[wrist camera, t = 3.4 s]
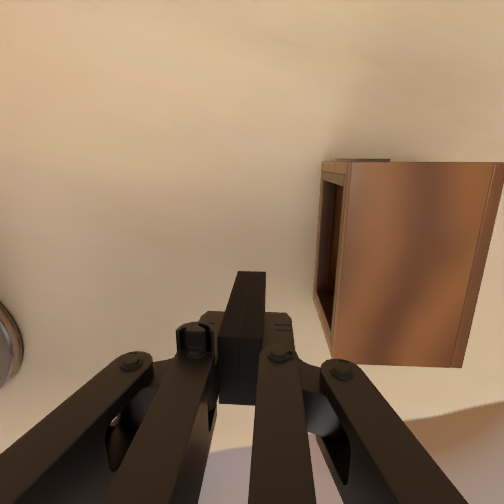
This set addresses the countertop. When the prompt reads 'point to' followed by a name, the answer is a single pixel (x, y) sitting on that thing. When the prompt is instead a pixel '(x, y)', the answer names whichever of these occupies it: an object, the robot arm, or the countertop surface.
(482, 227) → the wooden storage crate
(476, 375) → the countertop surface
